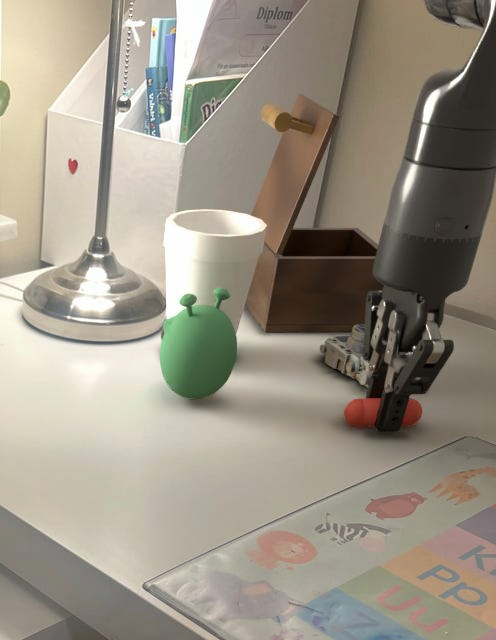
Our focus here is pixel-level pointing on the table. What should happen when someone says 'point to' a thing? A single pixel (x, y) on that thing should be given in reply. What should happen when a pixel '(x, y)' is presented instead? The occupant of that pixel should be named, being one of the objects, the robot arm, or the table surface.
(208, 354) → the alien toy
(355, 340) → the camera
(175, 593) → the table surface
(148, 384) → the table surface
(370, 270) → the bin
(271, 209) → the bin lid
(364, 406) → the red pill shape
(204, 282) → the foam cup
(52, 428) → the table surface
